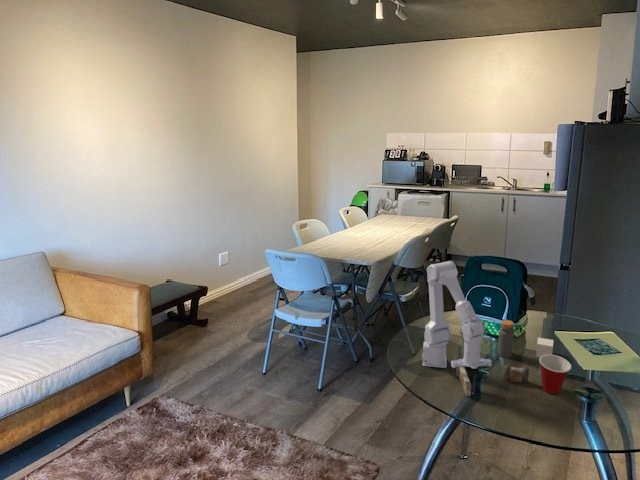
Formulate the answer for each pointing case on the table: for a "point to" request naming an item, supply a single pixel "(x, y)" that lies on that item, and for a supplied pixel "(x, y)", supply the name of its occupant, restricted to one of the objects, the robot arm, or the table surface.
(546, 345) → the white cube
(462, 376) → the gate
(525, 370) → the fence
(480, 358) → the robot arm
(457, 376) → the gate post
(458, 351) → the table surface
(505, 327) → the bottle
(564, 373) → the plastic cup
